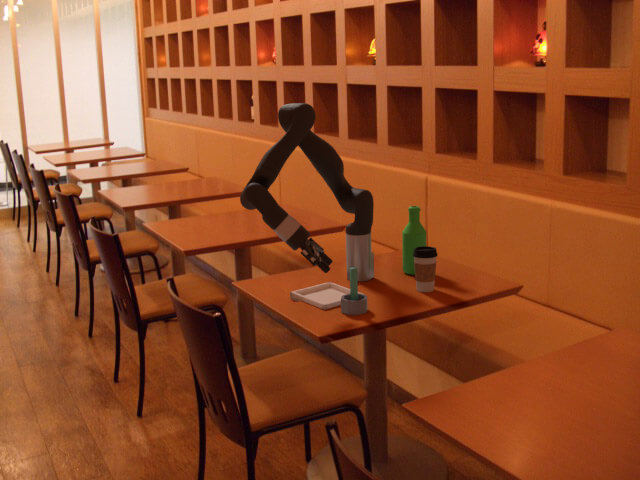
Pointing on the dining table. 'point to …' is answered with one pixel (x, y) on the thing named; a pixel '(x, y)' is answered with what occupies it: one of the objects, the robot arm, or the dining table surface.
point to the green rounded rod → (353, 284)
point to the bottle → (412, 239)
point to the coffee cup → (425, 267)
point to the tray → (321, 295)
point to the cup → (354, 305)
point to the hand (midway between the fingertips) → (329, 267)
